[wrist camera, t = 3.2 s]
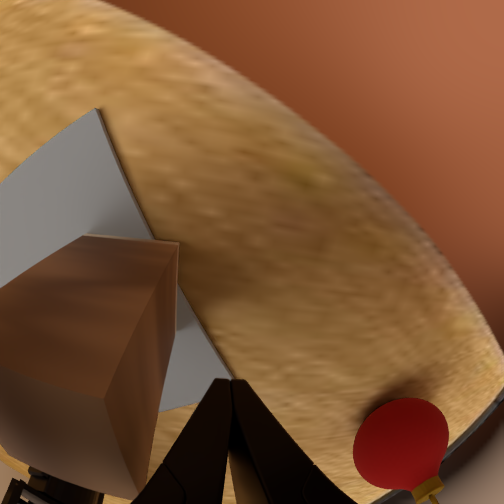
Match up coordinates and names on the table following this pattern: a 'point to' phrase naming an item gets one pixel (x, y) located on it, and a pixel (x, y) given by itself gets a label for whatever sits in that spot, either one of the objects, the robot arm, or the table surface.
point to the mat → (93, 222)
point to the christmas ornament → (403, 447)
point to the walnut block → (88, 359)
